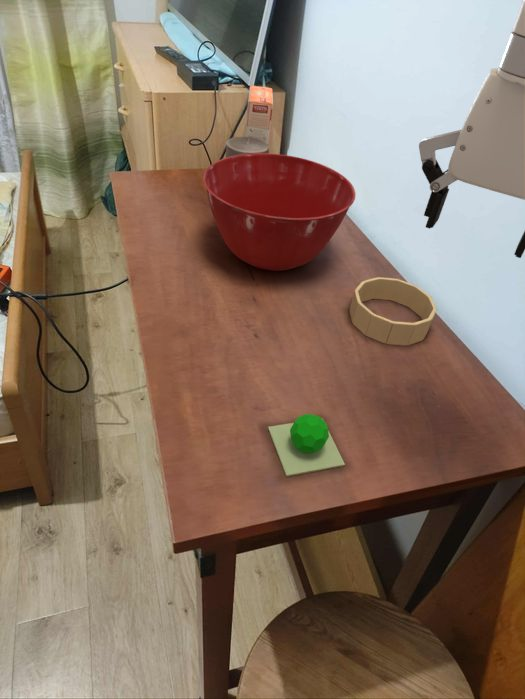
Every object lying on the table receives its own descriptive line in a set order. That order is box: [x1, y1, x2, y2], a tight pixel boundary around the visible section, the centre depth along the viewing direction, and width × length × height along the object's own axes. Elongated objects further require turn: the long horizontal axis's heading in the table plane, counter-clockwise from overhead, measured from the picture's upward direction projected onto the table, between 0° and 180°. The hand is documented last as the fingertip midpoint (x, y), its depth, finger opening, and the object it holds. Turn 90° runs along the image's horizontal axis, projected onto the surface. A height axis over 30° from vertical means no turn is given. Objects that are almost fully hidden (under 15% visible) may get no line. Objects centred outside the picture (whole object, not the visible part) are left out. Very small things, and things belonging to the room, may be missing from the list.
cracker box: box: [244, 85, 274, 145], centre depth 126 cm, size 14×6×21 cm, turn 179°
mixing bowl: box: [202, 152, 356, 272], centre depth 100 cm, size 28×28×16 cm
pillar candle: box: [225, 136, 270, 158], centre depth 117 cm, size 10×10×15 cm
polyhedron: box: [290, 413, 330, 453], centre depth 66 cm, size 5×5×5 cm
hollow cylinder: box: [349, 276, 438, 347], centre depth 90 cm, size 14×14×4 cm
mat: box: [267, 417, 346, 478], centre depth 67 cm, size 8×8×1 cm
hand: (474, 237), depth 56 cm, fingers open, 9 cm apart
